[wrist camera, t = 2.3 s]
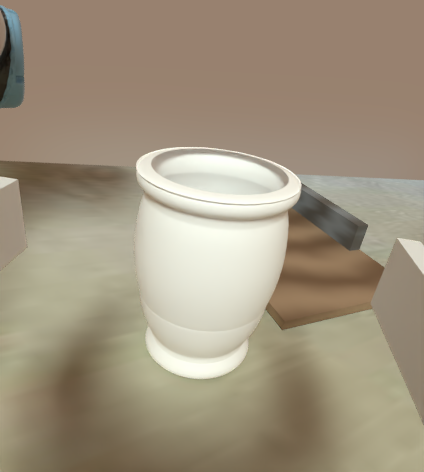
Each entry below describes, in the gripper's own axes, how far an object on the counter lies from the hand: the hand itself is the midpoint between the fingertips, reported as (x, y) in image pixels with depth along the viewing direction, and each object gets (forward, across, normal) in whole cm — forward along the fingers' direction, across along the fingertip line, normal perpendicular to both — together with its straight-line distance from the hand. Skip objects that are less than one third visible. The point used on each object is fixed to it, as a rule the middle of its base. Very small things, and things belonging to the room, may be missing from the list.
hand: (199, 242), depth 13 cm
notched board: (+29, +8, -16) cm, 34 cm away
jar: (+12, 0, -16) cm, 20 cm away
